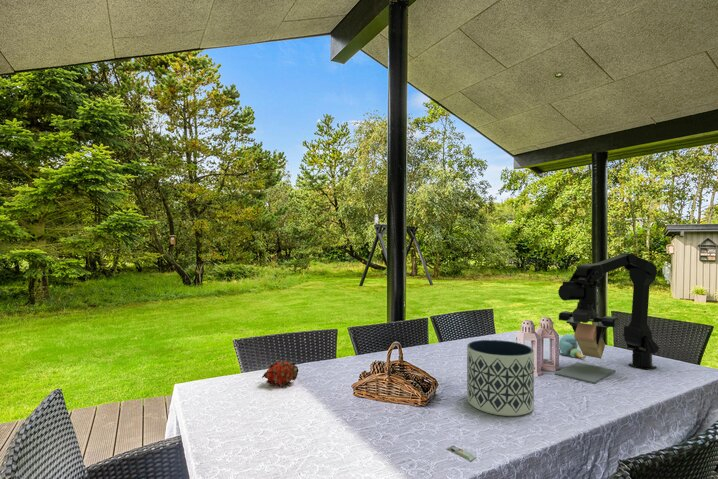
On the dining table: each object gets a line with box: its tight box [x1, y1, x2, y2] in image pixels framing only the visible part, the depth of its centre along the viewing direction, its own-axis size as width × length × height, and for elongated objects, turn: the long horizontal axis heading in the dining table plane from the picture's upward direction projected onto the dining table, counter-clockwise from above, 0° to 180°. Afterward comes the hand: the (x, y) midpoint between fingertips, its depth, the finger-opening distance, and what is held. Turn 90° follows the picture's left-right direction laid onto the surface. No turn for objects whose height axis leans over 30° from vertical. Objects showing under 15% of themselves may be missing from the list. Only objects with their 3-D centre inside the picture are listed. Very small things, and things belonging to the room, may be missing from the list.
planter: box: [466, 339, 535, 417], centre depth 116 cm, size 18×18×16 cm
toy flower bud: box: [558, 333, 587, 360], centre depth 165 cm, size 7×9×12 cm
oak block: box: [573, 322, 606, 360], centre depth 147 cm, size 6×6×12 cm
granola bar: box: [446, 445, 477, 462], centre depth 88 cm, size 7×2×1 cm, turn 38°
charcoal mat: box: [554, 361, 616, 385], centre depth 144 cm, size 20×13×1 cm, turn 130°
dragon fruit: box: [261, 359, 300, 388], centre depth 132 cm, size 8×8×12 cm
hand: (588, 342), depth 146 cm, fingers closed on oak block, 6 cm apart
